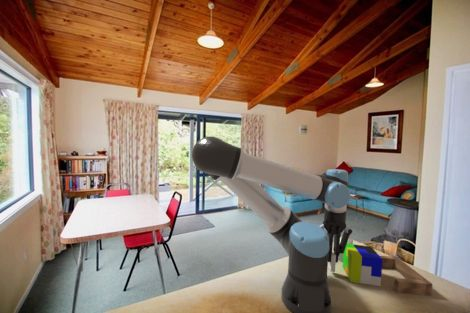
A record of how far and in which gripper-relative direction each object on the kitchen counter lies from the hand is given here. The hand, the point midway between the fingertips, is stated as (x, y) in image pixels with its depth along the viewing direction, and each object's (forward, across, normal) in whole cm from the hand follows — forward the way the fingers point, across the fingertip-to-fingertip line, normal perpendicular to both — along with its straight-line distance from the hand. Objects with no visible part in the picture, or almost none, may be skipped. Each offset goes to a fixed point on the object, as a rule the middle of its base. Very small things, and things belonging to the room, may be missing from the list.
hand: (331, 269), depth 85 cm
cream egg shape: (+2, +10, +12) cm, 16 cm away
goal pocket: (+2, +24, 0) cm, 24 cm away
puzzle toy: (+2, +11, 0) cm, 11 cm away
